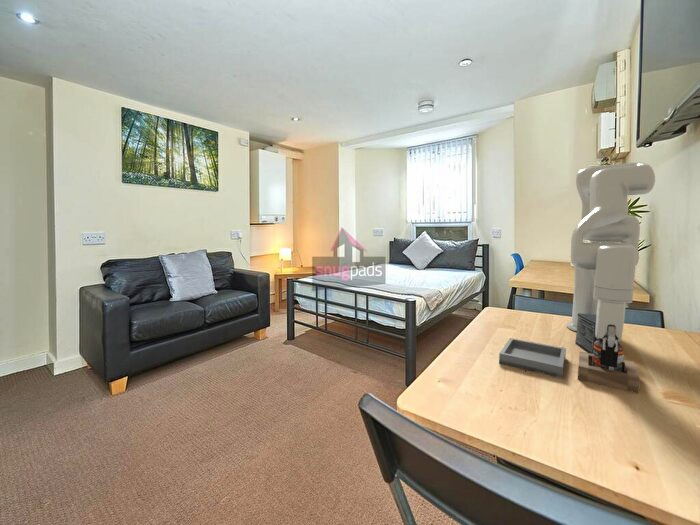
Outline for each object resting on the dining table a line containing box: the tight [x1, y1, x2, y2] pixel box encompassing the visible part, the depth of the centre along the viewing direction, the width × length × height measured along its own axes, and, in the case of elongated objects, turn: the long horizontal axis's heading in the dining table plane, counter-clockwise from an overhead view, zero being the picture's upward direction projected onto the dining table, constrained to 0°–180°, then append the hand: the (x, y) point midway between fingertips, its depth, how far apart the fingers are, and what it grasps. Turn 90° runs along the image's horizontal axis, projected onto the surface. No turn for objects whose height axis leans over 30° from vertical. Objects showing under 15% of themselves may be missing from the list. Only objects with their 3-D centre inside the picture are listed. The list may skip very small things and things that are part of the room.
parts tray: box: [498, 337, 567, 379], centre depth 89 cm, size 15×15×3 cm
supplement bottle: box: [592, 337, 624, 372], centre depth 79 cm, size 6×6×11 cm
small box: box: [574, 313, 599, 354], centre depth 96 cm, size 11×6×10 cm, turn 168°
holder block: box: [577, 351, 641, 394], centre depth 79 cm, size 12×12×4 cm
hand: (607, 358), depth 79 cm, fingers open, 9 cm apart
